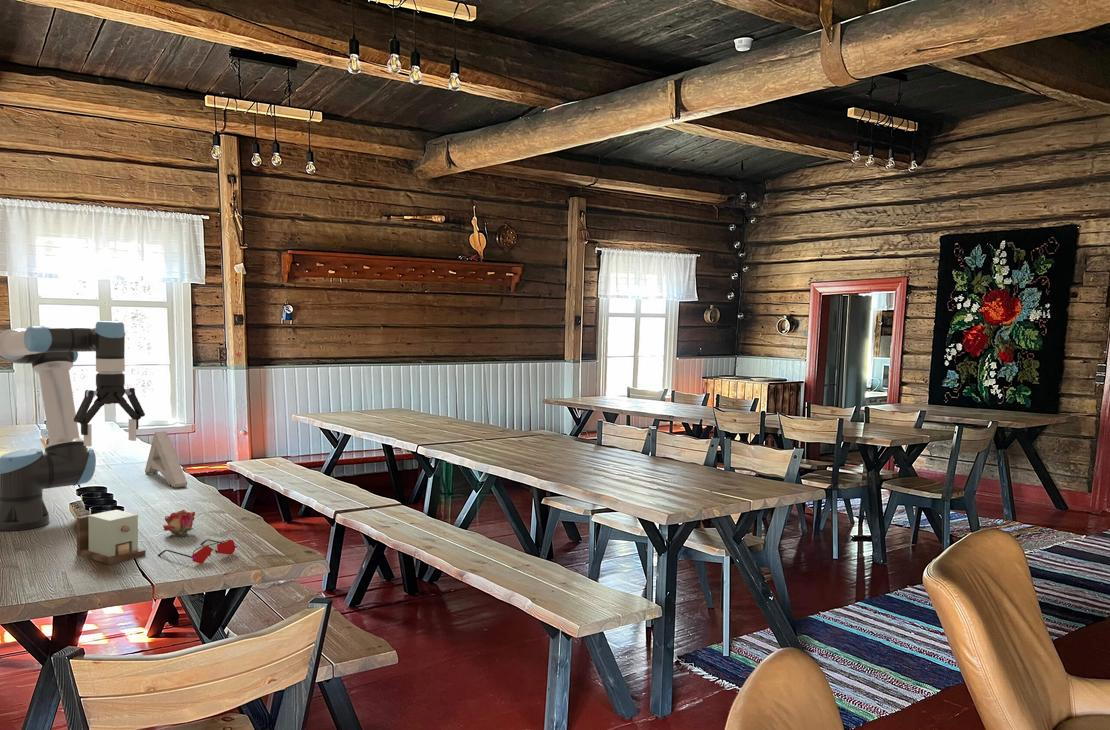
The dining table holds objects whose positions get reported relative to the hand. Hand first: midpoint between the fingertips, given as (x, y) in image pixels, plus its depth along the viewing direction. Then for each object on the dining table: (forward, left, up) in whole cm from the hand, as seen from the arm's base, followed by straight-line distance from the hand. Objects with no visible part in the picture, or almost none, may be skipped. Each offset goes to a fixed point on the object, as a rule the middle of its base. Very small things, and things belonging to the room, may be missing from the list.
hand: (110, 443), depth 234 cm
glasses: (+36, +4, -29) cm, 47 cm away
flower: (+14, +13, -29) cm, 35 cm away
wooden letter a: (-61, +58, -29) cm, 89 cm away
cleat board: (+17, -10, -29) cm, 35 cm away
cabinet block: (+18, -10, -27) cm, 34 cm away
